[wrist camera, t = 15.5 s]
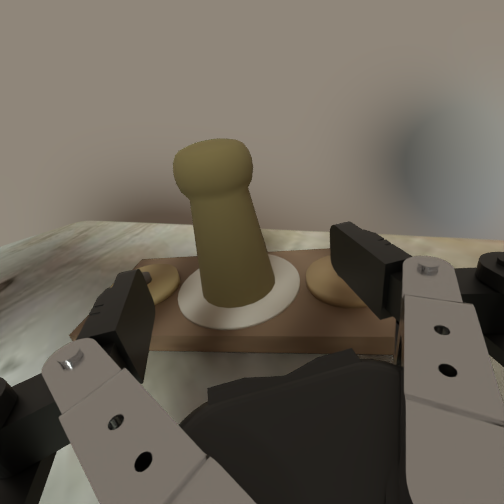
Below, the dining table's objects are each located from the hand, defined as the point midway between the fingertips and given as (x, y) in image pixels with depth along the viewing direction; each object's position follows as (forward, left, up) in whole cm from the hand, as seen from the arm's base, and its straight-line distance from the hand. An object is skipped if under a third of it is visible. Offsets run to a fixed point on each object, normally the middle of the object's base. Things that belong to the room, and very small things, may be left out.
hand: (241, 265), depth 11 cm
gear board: (-3, +8, -9) cm, 12 cm away
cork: (-3, +8, -7) cm, 11 cm away
